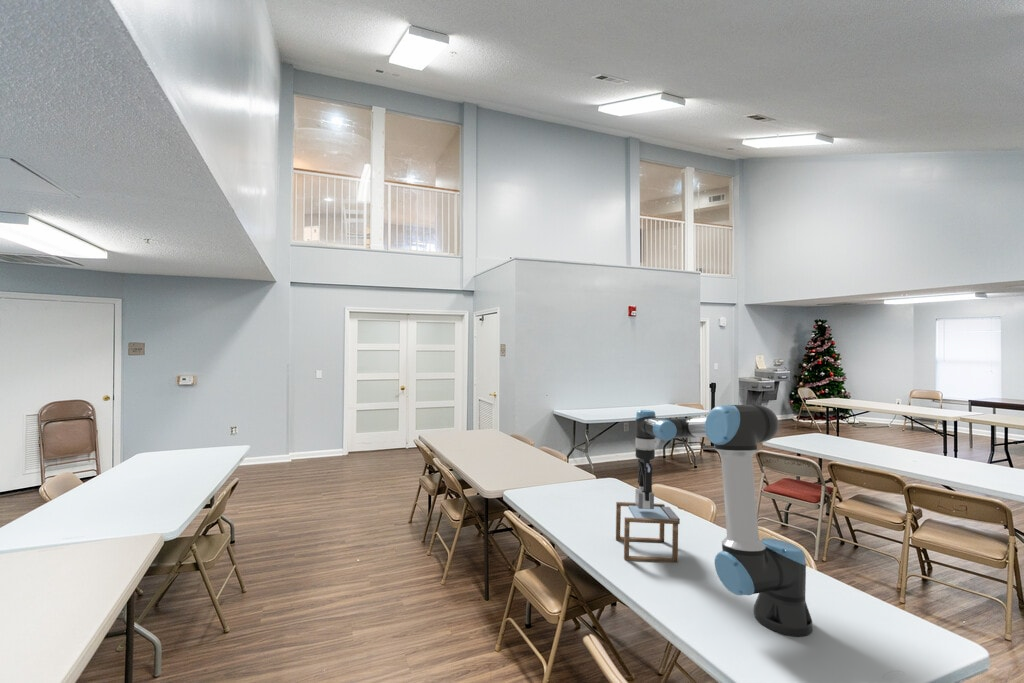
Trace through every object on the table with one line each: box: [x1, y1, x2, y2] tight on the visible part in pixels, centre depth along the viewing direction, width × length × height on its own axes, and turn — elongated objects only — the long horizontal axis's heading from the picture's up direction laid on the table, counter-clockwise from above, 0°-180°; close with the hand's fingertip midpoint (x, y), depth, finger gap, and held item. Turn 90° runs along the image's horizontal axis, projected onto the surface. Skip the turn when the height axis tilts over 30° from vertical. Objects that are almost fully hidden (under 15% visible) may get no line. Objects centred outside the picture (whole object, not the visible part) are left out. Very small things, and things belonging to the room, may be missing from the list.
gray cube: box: [634, 488, 655, 509], centre depth 185 cm, size 6×6×6 cm
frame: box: [615, 501, 679, 563], centre depth 185 cm, size 20×20×16 cm
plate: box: [628, 505, 681, 525], centre depth 185 cm, size 16×17×2 cm
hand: (644, 505), depth 185 cm, fingers closed on gray cube, 6 cm apart
